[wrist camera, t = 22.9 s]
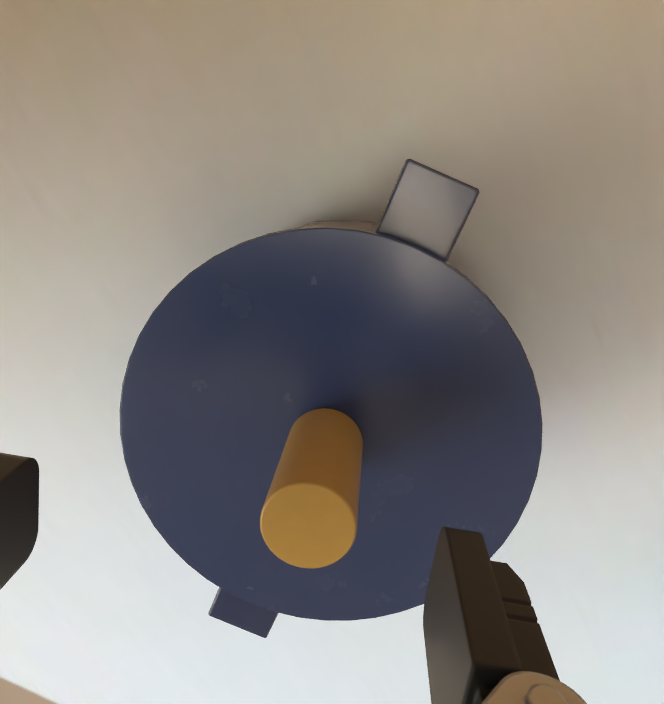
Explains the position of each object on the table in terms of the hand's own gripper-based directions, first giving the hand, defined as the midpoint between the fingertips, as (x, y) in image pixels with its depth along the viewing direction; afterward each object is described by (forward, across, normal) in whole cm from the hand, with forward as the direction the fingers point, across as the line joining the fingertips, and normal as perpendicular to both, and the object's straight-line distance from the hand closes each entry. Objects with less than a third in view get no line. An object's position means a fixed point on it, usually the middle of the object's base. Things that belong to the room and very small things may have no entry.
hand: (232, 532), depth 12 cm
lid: (+8, -2, +1) cm, 9 cm away
